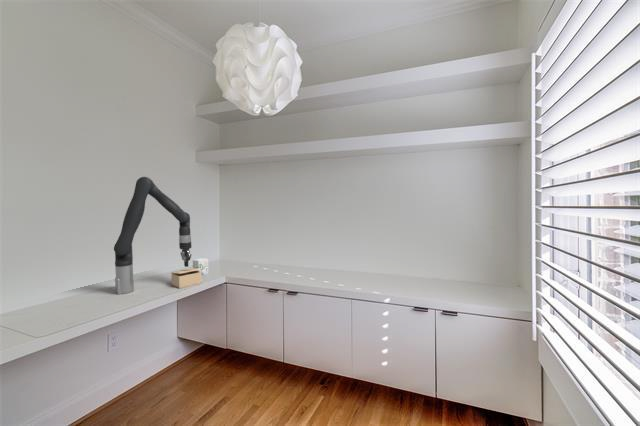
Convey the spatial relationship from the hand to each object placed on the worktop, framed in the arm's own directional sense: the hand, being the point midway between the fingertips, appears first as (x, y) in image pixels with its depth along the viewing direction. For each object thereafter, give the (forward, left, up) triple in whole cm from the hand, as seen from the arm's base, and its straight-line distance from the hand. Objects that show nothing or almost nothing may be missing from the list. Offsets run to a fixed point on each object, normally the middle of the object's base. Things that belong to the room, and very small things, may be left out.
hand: (186, 266), depth 201 cm
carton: (0, 0, -12) cm, 12 cm away
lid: (0, 0, -3) cm, 3 cm away
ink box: (+19, +20, -13) cm, 30 cm away
